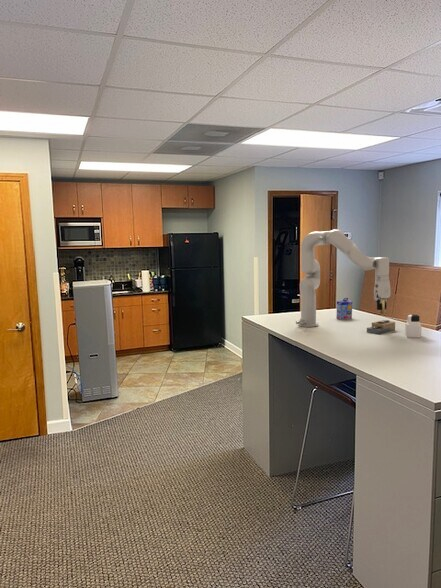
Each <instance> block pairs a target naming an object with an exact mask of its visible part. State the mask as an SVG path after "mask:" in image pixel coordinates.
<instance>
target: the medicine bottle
mask: <svg viewBox="0 0 441 588" xmlns="http://www.w3.org/2000/svg"><path fill="white" fill-rule="evenodd" d="M404 331H405V336H406V337H407V338H419V339H421V338H422V324H421V323H420V316H419V314H409V315H407V321H406V322H405V329H404Z"/></svg>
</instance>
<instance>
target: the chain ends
mask: <svg viewBox="0 0 441 588" xmlns="http://www.w3.org/2000/svg"><path fill="white" fill-rule="evenodd" d="M394 331H396V322H395V321H390V320H388V319H382V320H378V321H373V322H371V326H370V327H366V333H370V334H376V335H381V334H385V333H389V332H394Z"/></svg>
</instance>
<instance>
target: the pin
mask: <svg viewBox="0 0 441 588" xmlns="http://www.w3.org/2000/svg"><path fill="white" fill-rule="evenodd" d="M379 300H380V299H379ZM385 312H386V309H385V298H382V310H378V313H379V314H385Z"/></svg>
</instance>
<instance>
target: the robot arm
mask: <svg viewBox="0 0 441 588" xmlns="http://www.w3.org/2000/svg"><path fill="white" fill-rule="evenodd" d="M324 245H325V246H326V245H332V246H334V247H335V248H336V249H338V250H339V251H340V252H341V253H342V254H344V255H345V256H346V258H348V259H349V261H351V262H352V263H353V264H355V266H357V267H358V268H360V270H361V269H362V270H363V271H365V272H366V271H370V270H375V274H374V276H375V277H374V280H375V282H374V287H373V300H374V301H375V302H376V310H377V311H379V310H382V298H385V310H387V303H388V299H389V298H390V297H391V293H392V292H391V283H390V259H389V257H386V256H384V257H383V256H382V257H381V256H378V257H374V256H373V257H371V256H367V255H366V254H364V253H363V252H362V251H361V250H359V248H358V247H357V244H356V243H355V242H354V241H352V240H351V239H350V238H349V237H347V236H346V235H345V233H344V232H343V230H341V229H332V230H326V231H312V232H309V233H307V234H306V235H305V236H304V237H303V238H302V241H301V246H300V248H301V249H300V251H301V254H300V259H301V260H300V262H301V264H300V269H301V272H302V273H303V274H304V275H305V277H303V278H301V280H300V282H299V292H300V318H299V320H295V324H296V325H298V326H299V327H301V328H315V327H318V326H320V325H319V323H318V322H317V295H316V290H317V289H318V288H319V286H320V284H321V264H320V263H319V261H318V260H317V259H316V251H315V247H316V246H324ZM379 299H380V300H379Z"/></svg>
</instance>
